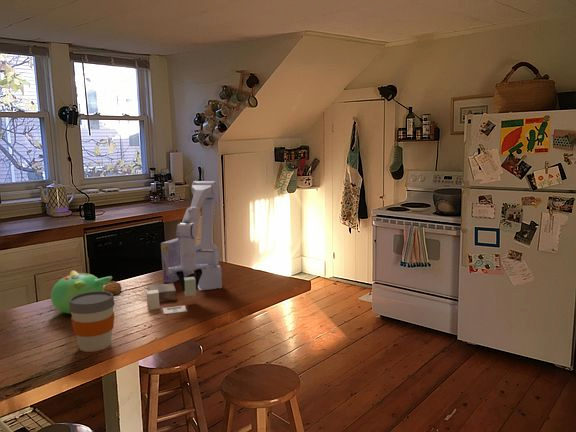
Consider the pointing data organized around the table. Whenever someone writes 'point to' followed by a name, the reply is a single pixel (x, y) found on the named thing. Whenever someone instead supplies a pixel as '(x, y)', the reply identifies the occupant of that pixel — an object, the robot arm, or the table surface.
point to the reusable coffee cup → (92, 319)
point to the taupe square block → (164, 291)
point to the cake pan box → (171, 260)
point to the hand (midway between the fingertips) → (189, 289)
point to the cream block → (153, 299)
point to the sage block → (190, 286)
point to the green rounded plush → (75, 288)
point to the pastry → (112, 287)
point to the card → (174, 309)
